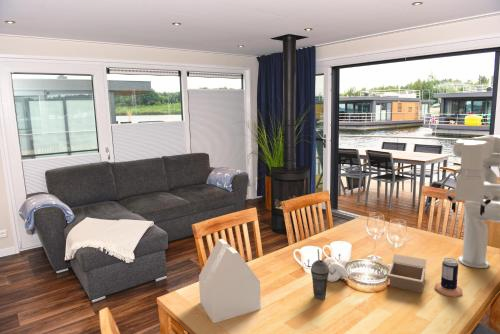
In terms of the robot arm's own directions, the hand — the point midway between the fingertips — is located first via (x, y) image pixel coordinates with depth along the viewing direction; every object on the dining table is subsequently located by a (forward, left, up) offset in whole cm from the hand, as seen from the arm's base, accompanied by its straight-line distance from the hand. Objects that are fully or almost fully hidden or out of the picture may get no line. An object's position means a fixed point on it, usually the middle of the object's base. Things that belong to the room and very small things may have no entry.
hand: (467, 213), depth 150 cm
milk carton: (+63, -79, -31) cm, 106 cm away
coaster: (+12, -5, -30) cm, 33 cm away
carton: (+12, -21, -30) cm, 39 cm away
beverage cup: (+41, -50, -31) cm, 71 cm away
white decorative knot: (+23, -48, -31) cm, 61 cm away
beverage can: (+12, -5, -30) cm, 32 cm away
